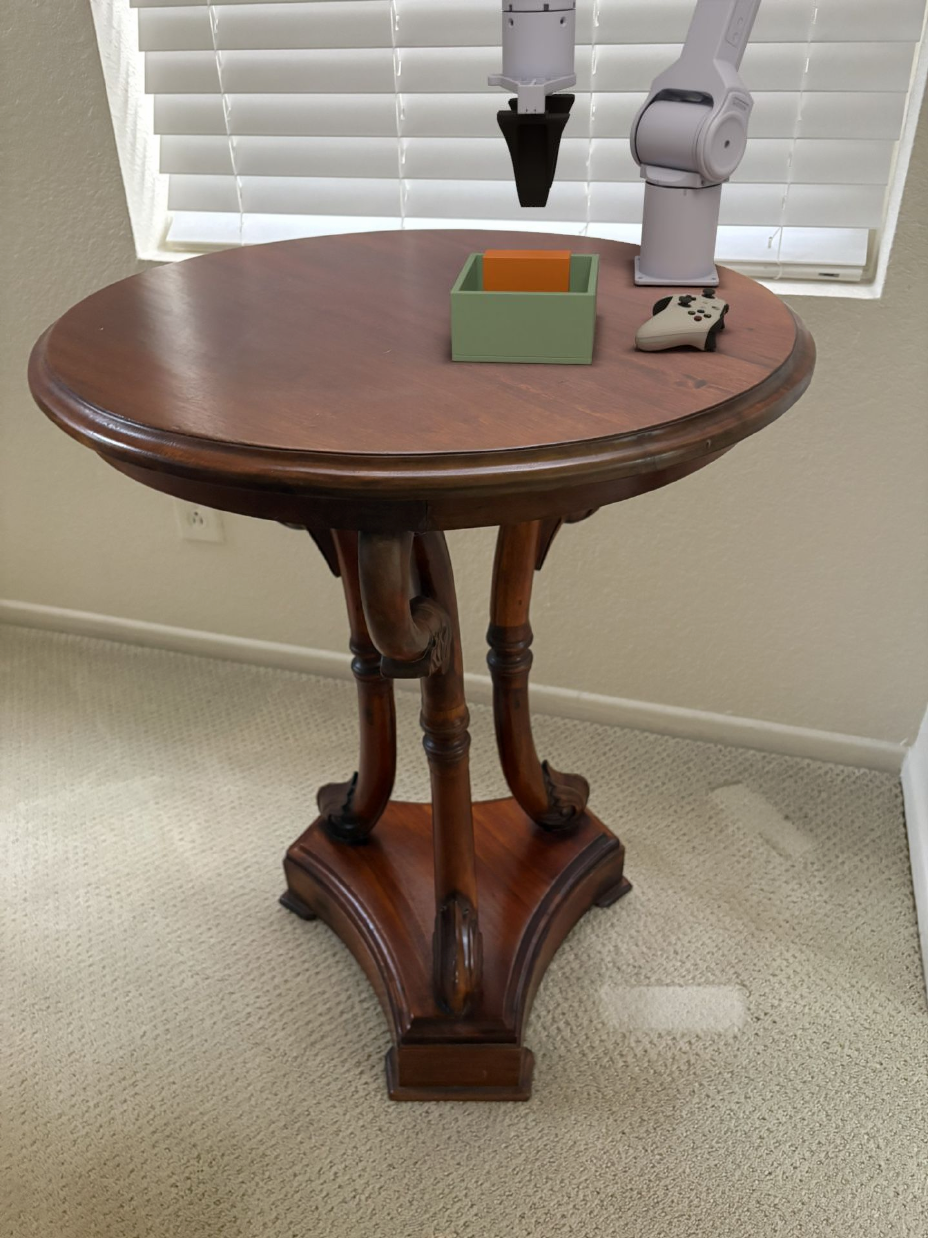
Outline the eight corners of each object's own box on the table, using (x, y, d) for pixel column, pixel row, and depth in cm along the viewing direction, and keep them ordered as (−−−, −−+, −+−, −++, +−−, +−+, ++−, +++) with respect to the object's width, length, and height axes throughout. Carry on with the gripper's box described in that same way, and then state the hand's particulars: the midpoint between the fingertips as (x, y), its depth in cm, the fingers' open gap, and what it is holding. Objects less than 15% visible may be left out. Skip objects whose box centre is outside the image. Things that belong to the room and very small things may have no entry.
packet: (486, 327, 87) (486, 249, 83) (568, 328, 86) (570, 250, 82) (483, 336, 85) (482, 256, 81) (566, 337, 84) (569, 257, 80)
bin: (472, 315, 91) (470, 252, 88) (596, 317, 90) (599, 253, 87) (452, 361, 81) (449, 292, 78) (591, 364, 80) (594, 294, 77)
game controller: (649, 306, 89) (703, 259, 85) (688, 351, 90) (743, 308, 86) (627, 340, 81) (685, 291, 78) (669, 390, 82) (729, 343, 79)
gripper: (497, 5, 84) (498, 179, 92) (476, 17, 72) (479, 215, 80) (581, 3, 83) (576, 179, 91) (574, 14, 72) (568, 215, 79)
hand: (536, 196), depth 86 cm, fingers open, 7 cm apart
